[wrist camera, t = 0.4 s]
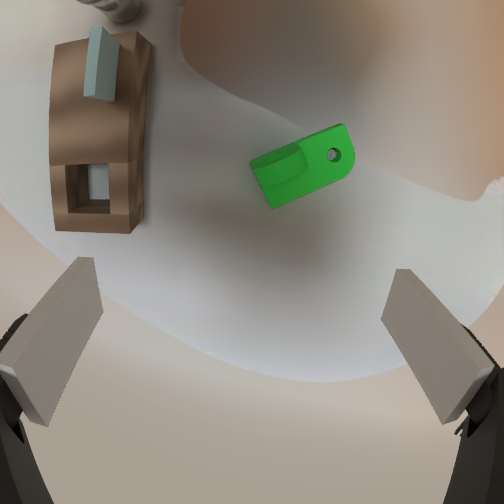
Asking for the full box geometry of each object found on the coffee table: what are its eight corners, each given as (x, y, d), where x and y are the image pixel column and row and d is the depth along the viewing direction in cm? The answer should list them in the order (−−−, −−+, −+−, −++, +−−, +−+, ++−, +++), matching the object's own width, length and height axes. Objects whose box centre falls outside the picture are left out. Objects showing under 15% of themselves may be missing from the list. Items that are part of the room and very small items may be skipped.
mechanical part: (269, 205, 38) (278, 226, 31) (249, 161, 36) (253, 172, 29) (355, 167, 37) (382, 180, 29) (338, 123, 34) (364, 125, 27)
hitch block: (78, 52, 28) (55, 45, 22) (151, 43, 29) (136, 31, 23) (76, 215, 37) (55, 230, 31) (143, 216, 38) (129, 233, 32)
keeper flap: (111, 44, 23) (91, 26, 17) (120, 43, 24) (102, 24, 17) (106, 102, 26) (83, 98, 19) (115, 101, 26) (94, 97, 20)
